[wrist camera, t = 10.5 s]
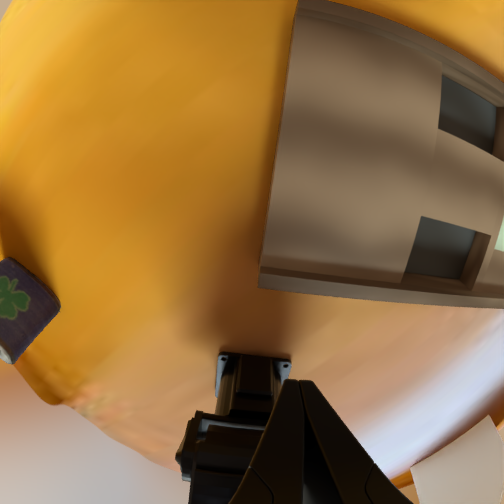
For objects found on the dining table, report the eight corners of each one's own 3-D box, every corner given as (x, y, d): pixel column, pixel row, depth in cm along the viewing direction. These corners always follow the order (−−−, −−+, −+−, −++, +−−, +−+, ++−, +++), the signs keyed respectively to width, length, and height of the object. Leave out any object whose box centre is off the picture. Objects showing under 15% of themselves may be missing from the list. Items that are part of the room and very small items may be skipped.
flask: (5, 268, 22) (-56, 316, 12) (7, 248, 21) (-61, 295, 11) (59, 316, 24) (4, 383, 14) (64, 298, 23) (1, 367, 13)
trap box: (507, 293, 21) (524, 309, 18) (258, 263, 20) (257, 287, 17) (544, 137, 14) (566, 142, 11) (293, 17, 14) (299, -5, 10)
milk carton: (430, 472, 40) (450, 546, 17) (409, 467, 37) (431, 559, 14) (495, 427, 35) (527, 500, 11) (488, 413, 31) (529, 505, 8)
